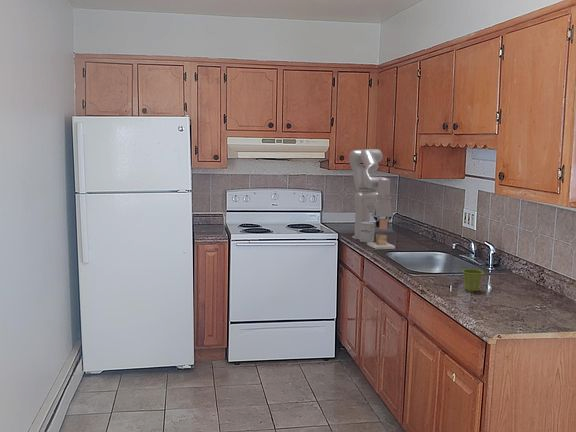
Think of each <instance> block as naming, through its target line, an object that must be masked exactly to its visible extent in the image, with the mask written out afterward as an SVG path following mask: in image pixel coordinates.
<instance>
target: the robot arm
mask: <svg viewBox="0 0 576 432" xmlns="http://www.w3.org/2000/svg"><path fill="white" fill-rule="evenodd" d="M383 158H384V154H383V152H382V151H381V149H378V148H375V149H374V148H364V149H354V150H351V151H350V153H349V155H348V162H349V165H350V168H351V171H352V174H353V182H354V188H355V189H356V190H357V192H356V193H355V195H354V204H355V211H354V212H355V214H354V215H355V218H354V219H355V220H354V235H352V236H351V238H352V239H354V240H360V231H361V223H362V222H370V217H372V218H373V219H374V220H375V226H376V228H377V227H378V228H379V219H381V217H385V218H384V219H388V227H387V229H388V228H389V224H390V223H389V222H390V220H391V219H392V218H393V217H395V215H394V214H393V212H392V203H391V199H392V196H391V195H390V194H391V178H388V177H383V176H373V175H371V174H374V173H375V172H376V171H377V170H378V169H379V166H380V165H379V163H381V162H382V160H383ZM362 164H363V165H362ZM370 175H371V176H370ZM368 206H373V207H374V208H373V212H372V213H371V212H370V210H369V208H368ZM370 213H371V214H370ZM378 228H377V229H378Z"/></svg>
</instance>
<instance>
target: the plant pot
mask: <svg viewBox="0 0 576 432" xmlns="http://www.w3.org/2000/svg"><path fill="white" fill-rule="evenodd" d="M461 272H462V275H463V282H464V290H466V291H467V292H479V290H480V285H481V281H482V277H483V274H484V271H483V270H480V269H474V268H472V269H471V268H467V269H466V268H463V269H461Z"/></svg>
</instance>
